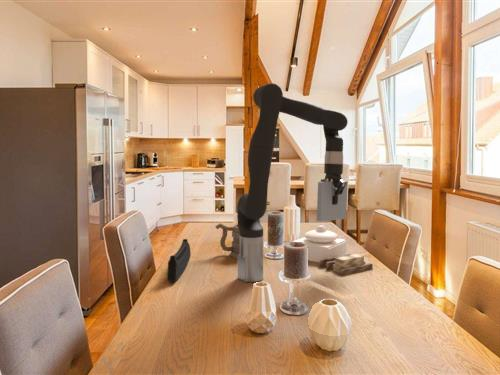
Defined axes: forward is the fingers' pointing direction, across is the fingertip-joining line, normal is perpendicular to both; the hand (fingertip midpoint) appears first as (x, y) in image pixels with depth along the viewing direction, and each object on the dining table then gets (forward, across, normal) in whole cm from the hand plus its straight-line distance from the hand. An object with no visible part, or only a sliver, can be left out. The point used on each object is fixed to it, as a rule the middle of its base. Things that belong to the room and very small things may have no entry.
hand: (332, 203), depth 176 cm
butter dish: (+28, -12, +5) cm, 31 cm away
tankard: (+28, -39, -24) cm, 53 cm away
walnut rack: (+27, +6, +3) cm, 28 cm away
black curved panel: (+29, -28, -56) cm, 69 cm away
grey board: (+7, 0, 0) cm, 7 cm away
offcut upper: (+23, +9, +3) cm, 25 cm away
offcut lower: (+26, +9, +3) cm, 27 cm away
